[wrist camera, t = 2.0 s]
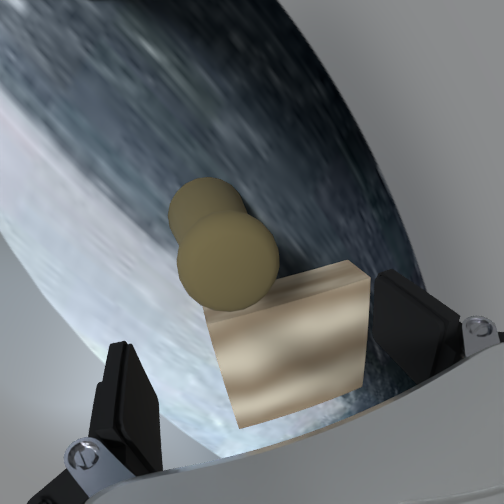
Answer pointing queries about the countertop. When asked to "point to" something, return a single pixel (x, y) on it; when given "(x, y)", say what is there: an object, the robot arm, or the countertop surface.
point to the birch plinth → (294, 343)
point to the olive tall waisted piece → (221, 246)
